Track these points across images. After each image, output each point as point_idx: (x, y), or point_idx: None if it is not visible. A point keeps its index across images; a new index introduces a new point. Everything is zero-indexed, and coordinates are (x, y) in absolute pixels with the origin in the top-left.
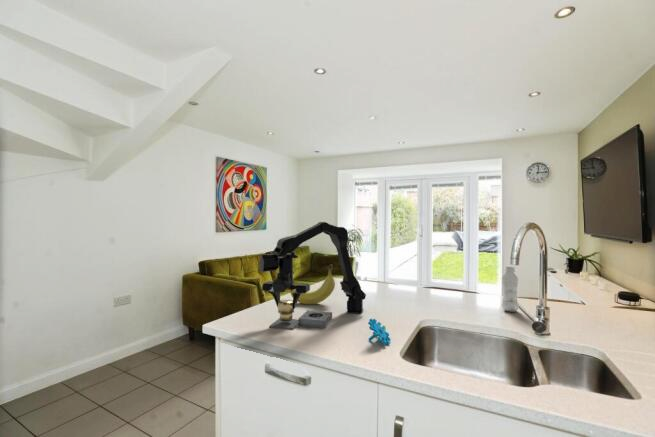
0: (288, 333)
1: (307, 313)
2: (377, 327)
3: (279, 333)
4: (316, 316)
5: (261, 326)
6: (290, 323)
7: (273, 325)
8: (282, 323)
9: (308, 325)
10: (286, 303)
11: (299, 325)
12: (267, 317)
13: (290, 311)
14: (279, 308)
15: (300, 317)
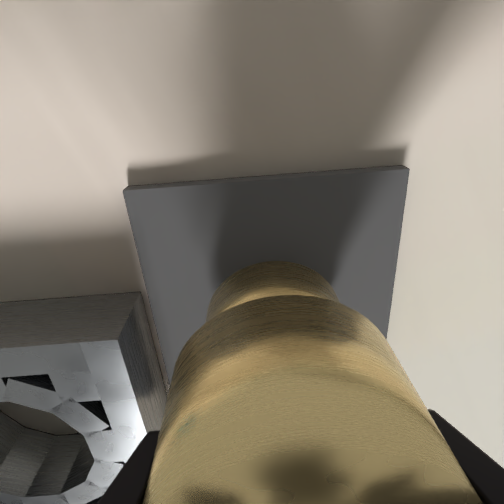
0: (109, 64)
1: None
2: None
3: (209, 24)
4: (70, 462)
5: (495, 167)
6: None
7: (367, 196)
8: None
9: (34, 307)
10: (232, 489)
11: (129, 295)
12: (495, 375)
13: (178, 367)
14: (373, 360)
15: (114, 368)
